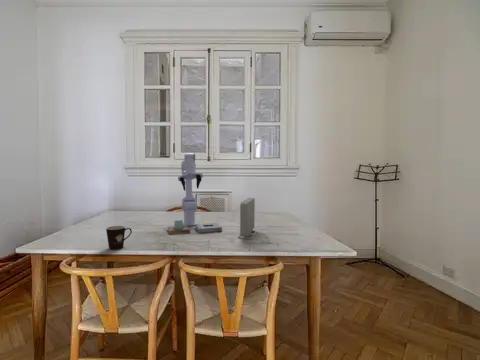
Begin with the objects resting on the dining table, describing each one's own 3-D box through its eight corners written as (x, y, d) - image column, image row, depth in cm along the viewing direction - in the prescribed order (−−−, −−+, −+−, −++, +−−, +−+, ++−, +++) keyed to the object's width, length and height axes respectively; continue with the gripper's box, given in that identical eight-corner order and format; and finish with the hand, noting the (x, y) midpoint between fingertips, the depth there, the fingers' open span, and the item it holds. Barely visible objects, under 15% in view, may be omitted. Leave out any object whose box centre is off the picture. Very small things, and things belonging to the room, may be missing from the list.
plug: (174, 231, 182) (174, 219, 182) (182, 230, 184) (181, 219, 183) (175, 232, 179) (174, 220, 179) (182, 231, 180) (182, 220, 180)
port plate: (195, 228, 191) (195, 224, 191) (216, 226, 195) (216, 222, 195) (198, 232, 177) (198, 228, 177) (221, 231, 182) (221, 227, 181)
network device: (251, 240, 160) (251, 203, 159) (235, 239, 162) (235, 202, 160) (258, 230, 185) (258, 197, 184) (244, 229, 187) (244, 197, 185)
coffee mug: (106, 251, 140) (105, 230, 140) (106, 246, 148) (106, 226, 148) (132, 248, 145) (132, 228, 144) (131, 244, 153) (131, 224, 152)
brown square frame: (167, 229, 185) (167, 226, 185) (187, 228, 189) (187, 225, 189) (169, 234, 174) (169, 230, 174) (189, 232, 177) (189, 229, 177)
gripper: (176, 167, 177) (176, 186, 169) (200, 163, 177) (202, 182, 169) (179, 174, 183) (179, 193, 175) (203, 170, 183) (204, 189, 175)
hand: (190, 188), depth 173 cm, fingers open, 7 cm apart
